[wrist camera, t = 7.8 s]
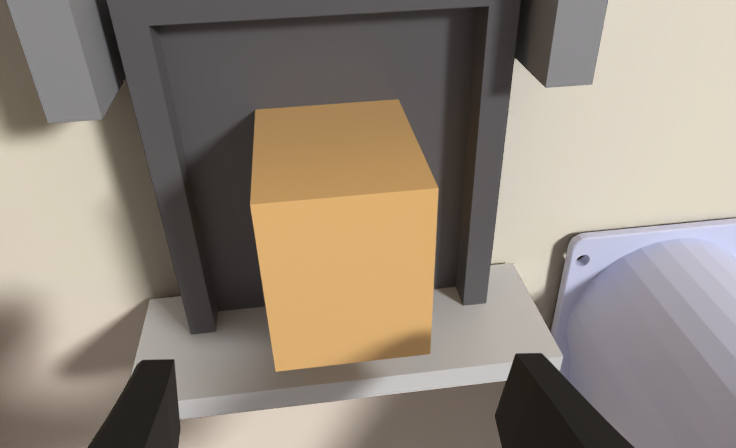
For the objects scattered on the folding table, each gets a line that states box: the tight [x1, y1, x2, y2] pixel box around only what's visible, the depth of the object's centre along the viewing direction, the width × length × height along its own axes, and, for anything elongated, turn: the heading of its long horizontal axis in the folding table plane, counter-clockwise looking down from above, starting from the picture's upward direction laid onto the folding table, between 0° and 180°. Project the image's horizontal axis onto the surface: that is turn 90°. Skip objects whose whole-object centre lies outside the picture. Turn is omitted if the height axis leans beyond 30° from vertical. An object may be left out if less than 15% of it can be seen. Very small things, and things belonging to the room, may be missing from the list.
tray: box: [107, 0, 563, 420], centre depth 17 cm, size 11×13×5 cm
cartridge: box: [250, 99, 439, 372], centre depth 16 cm, size 5×4×5 cm
